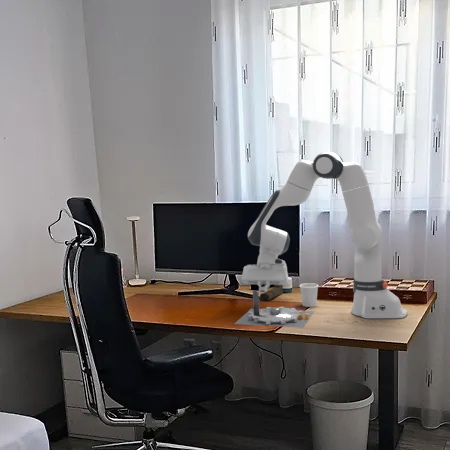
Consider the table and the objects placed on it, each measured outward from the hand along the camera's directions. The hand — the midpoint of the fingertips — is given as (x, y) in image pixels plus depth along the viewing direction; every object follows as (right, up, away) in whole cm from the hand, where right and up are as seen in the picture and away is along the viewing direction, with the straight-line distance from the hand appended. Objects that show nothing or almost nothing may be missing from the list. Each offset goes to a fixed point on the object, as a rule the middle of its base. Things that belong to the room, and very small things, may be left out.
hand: (262, 291), depth 249 cm
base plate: (+5, -11, -9) cm, 15 cm away
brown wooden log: (+7, -7, +32) cm, 34 cm away
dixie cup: (+22, -8, +10) cm, 25 cm away
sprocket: (+5, -10, -9) cm, 14 cm away
